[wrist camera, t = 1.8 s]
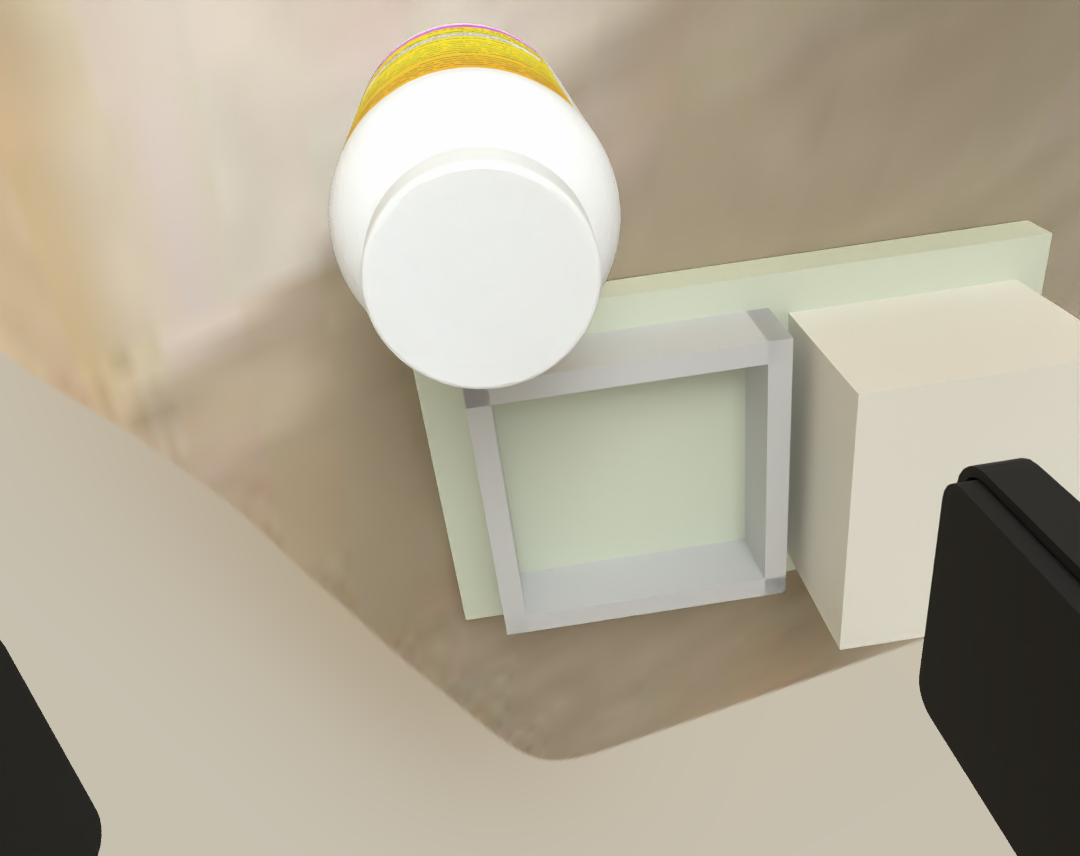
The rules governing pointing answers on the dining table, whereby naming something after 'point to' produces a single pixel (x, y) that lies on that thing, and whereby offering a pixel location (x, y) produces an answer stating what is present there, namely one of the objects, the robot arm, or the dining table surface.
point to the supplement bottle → (473, 209)
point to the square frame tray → (760, 434)
